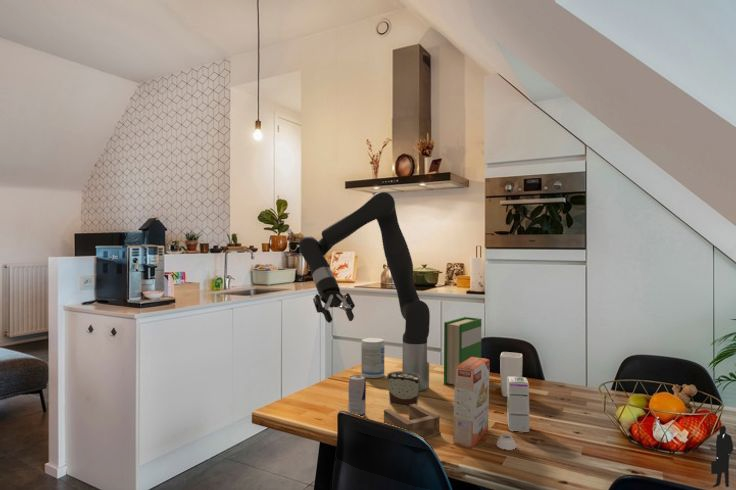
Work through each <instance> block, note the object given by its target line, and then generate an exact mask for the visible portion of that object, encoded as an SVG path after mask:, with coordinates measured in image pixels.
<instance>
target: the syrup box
mask: <svg viewBox="0 0 736 490" xmlns="http://www.w3.org/2000/svg"><path fill="white" fill-rule="evenodd" d="M529 392H530V383H529V381H528V379H527V377H524V376H522V377H516V376H512V377H507V397H506V399H507V400H506V401H507V402H506V403H507V405H506V407H507V408H506V412H507V413H506V414H507V415H506V419H507V420H506V423H507V426H508V427H509V428H508V431H509V430H510V431H509V432H513V431H522V432H521V433H523V432H529V433H530V393H529Z"/></svg>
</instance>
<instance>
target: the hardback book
mask: <svg viewBox="0 0 736 490" xmlns="http://www.w3.org/2000/svg"><path fill="white" fill-rule="evenodd" d="M443 323H444V324H443V329H444V331H443V337H444V338H443V385H444V386H447V385H454V386H455V367H456V366H457V365H459V364H461V363H462V362H464V361H466V360H467V359H469V358H471V357H477V358H482V318H478V317H468V316H464V317H460V318H456V319H452V320H448V321H444V322H443Z"/></svg>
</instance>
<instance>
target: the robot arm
mask: <svg viewBox="0 0 736 490" xmlns="http://www.w3.org/2000/svg"><path fill="white" fill-rule="evenodd" d="M375 220H376V221H377V223H378V227H379V229H380V234H381V243H382V247H383V252H384V253H383V254H384V257H385V260H386V264H387V266H388V269H389V273H390V276H391V278H392V282H393V283H394V287H395V289H396V293H397V294H396V295H397V299H398V303H399V310H400V313H401V316H402V318H403V320H404V321H405V325H404V326H405V329H404V332H403V334H402V364H401V366H402V367H401V368H402V370H401V371H407V372H413V373H416V374H418V375H420V378H421V382H422V384H421V385H420V386H419V392H422V391H426V390H427V389H429V388H430V363H429V361H428V337H429V333H430V324H431V323H430V319H431V316H430V314H431V313H430V308H429V305H428V304H427V303H426V302H424V301H423V300H420V297H419V294H418V292H417V289H416V286H415V281H414V264H413V259H412V256H411V252H410V249H409V247H408V243H407V241H406V238H405V236H404V233H403V232H402V230H401V227H400V223H399V220H398V215H397V210H396V202H395V199H394V197H393V196H392V195H391V193H389V192H387V191H379V192H378V191H377V192H376V193H374V194H373V195H372V197H371V198H370V199H369V200H367V201H366V202H365V203H364V204H362V206H360V207H359V208H358V209H355V211H353V212H351V213H350V214H347V215H346V216H344V217H343V218H341V219H339V220H338V221H336V222H334V223H332V224H330V225H329V226H328V227H326V228H324V229H323V230H322V231H321V238H320V239H319V241H318V240H317V239H316V238H315V237H313V236H311V235H306V236H304V237H302V238H301V240H300V241H299V244H298V247H299V249H298V250H299V251H300V253H301V255H302V258H303V259H304V260H305V262H306V265H307V266H308V267H309V270H310V274H311V276H312V279H313V283H314V285H315V287H316V291H317V293H316V294H315V295H314V297H313V298H312V300H313V304H314V306H315V310H316V313H318V314H319V313H320V314H321V313H322V314H323V316H324V319H325V321H326V322H327V323H328V324H330V323H332V322H333V317H332V314H331V312H330V310H329V308H330V309H331V308H338V309H340V310H343V311H344V312H345V314H346V317H347V320H348V321H349V322H352V321H353V320H354V318H355V315H354V313H353V309H354V308H355V307H356V305H355V303H354V300H353V299H352V297H351V295H350V293H349V292H347V293H345V294H342V293H341V290H340V289H341V288H340V286H339V284H338V281H337V279H336V276H335V274H334V272H333V271H332V269H331V267H330V264H329V261H328V260H327V259H326V257H325V255H326V254H327V253H329V251H330V250H331V249H332V248H333V247H334V246H335V245H337V244H338V243H340V242H342V241H344V240H345V239H346V238H348V237H350V236H351V235H352V234H354V233H355V232H357V231H358V230H359V229H361V228H362V227H364V226H366V225H367V224H369V223H371V222H374V221H375ZM322 302H323V304H322Z"/></svg>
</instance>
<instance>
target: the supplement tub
mask: <svg viewBox="0 0 736 490" xmlns="http://www.w3.org/2000/svg"><path fill="white" fill-rule="evenodd" d="M360 346H361V349H360V351H361V352H360V354H361V356H360V357H361V359H360V361H361V364H360V366H361V367H360V368H361V371H360V373H361V374H360V375H362V376H365V379H366V378H367V379H379V378H380V379H381V378H382V377H384V376H385V339H383V338H379V337H367V338H362V339H361V345H360Z"/></svg>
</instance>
